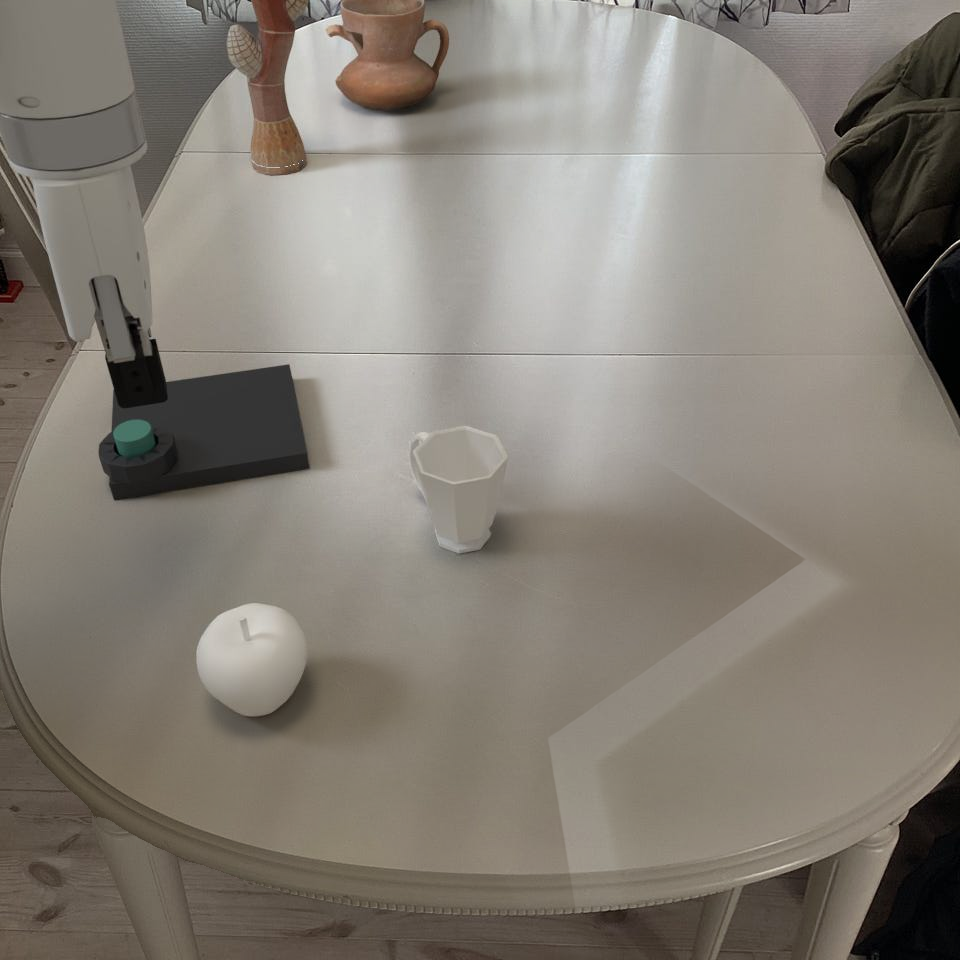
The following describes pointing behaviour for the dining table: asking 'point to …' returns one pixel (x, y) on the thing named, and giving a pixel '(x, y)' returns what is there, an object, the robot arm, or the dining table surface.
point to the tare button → (134, 438)
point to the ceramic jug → (387, 52)
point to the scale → (211, 433)
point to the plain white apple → (252, 658)
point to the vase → (270, 84)
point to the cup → (459, 483)
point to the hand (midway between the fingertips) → (143, 398)
